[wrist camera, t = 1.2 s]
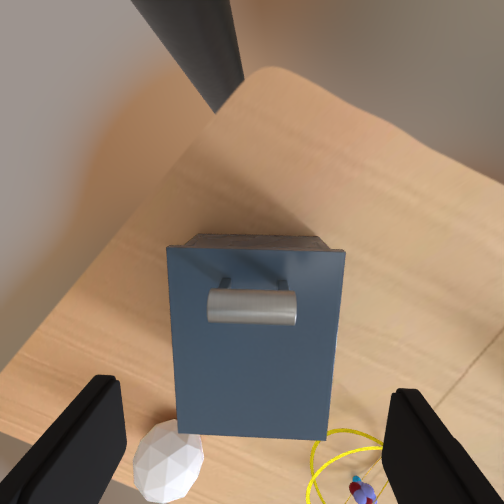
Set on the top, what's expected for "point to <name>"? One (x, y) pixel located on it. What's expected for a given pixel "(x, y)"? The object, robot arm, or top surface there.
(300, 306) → the freezer lid
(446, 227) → the top surface
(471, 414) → the top surface
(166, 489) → the geometric ball
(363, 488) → the atom model
